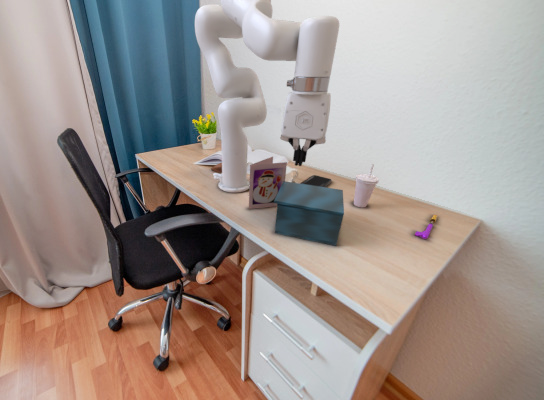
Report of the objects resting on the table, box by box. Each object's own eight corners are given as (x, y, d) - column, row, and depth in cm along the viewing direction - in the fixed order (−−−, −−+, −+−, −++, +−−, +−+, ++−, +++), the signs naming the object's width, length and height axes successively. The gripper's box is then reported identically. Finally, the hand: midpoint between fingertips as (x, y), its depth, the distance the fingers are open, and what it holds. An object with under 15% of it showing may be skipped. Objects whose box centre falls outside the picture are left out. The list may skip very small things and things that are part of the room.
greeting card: (249, 210, 77) (251, 165, 70) (244, 199, 84) (245, 158, 77) (283, 206, 79) (288, 163, 72) (275, 196, 85) (279, 155, 78)
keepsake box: (274, 233, 66) (277, 205, 62) (283, 209, 77) (286, 184, 73) (336, 246, 61) (343, 216, 56) (336, 219, 72) (342, 192, 68)
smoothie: (373, 210, 76) (386, 168, 69) (351, 208, 77) (362, 167, 70) (367, 201, 81) (378, 161, 75) (347, 199, 82) (356, 160, 76)
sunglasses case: (233, 159, 122) (239, 149, 118) (243, 168, 121) (249, 158, 116) (209, 169, 110) (214, 158, 106) (219, 179, 109) (225, 169, 104)
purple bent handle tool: (427, 240, 61) (438, 217, 71) (427, 236, 61) (438, 213, 71) (414, 237, 63) (426, 215, 73) (414, 233, 63) (426, 212, 73)
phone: (296, 185, 90) (313, 174, 100) (295, 188, 91) (313, 177, 100) (316, 191, 85) (332, 179, 95) (315, 194, 86) (332, 181, 96)
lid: (273, 203, 62) (274, 200, 62) (283, 183, 73) (283, 180, 73) (343, 216, 56) (344, 213, 56) (342, 192, 68) (342, 189, 67)
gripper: (273, 86, 53) (266, 165, 62) (347, 88, 48) (329, 173, 57) (280, 84, 59) (273, 156, 68) (346, 85, 54) (329, 163, 63)
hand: (298, 164), depth 62 cm, fingers closed
